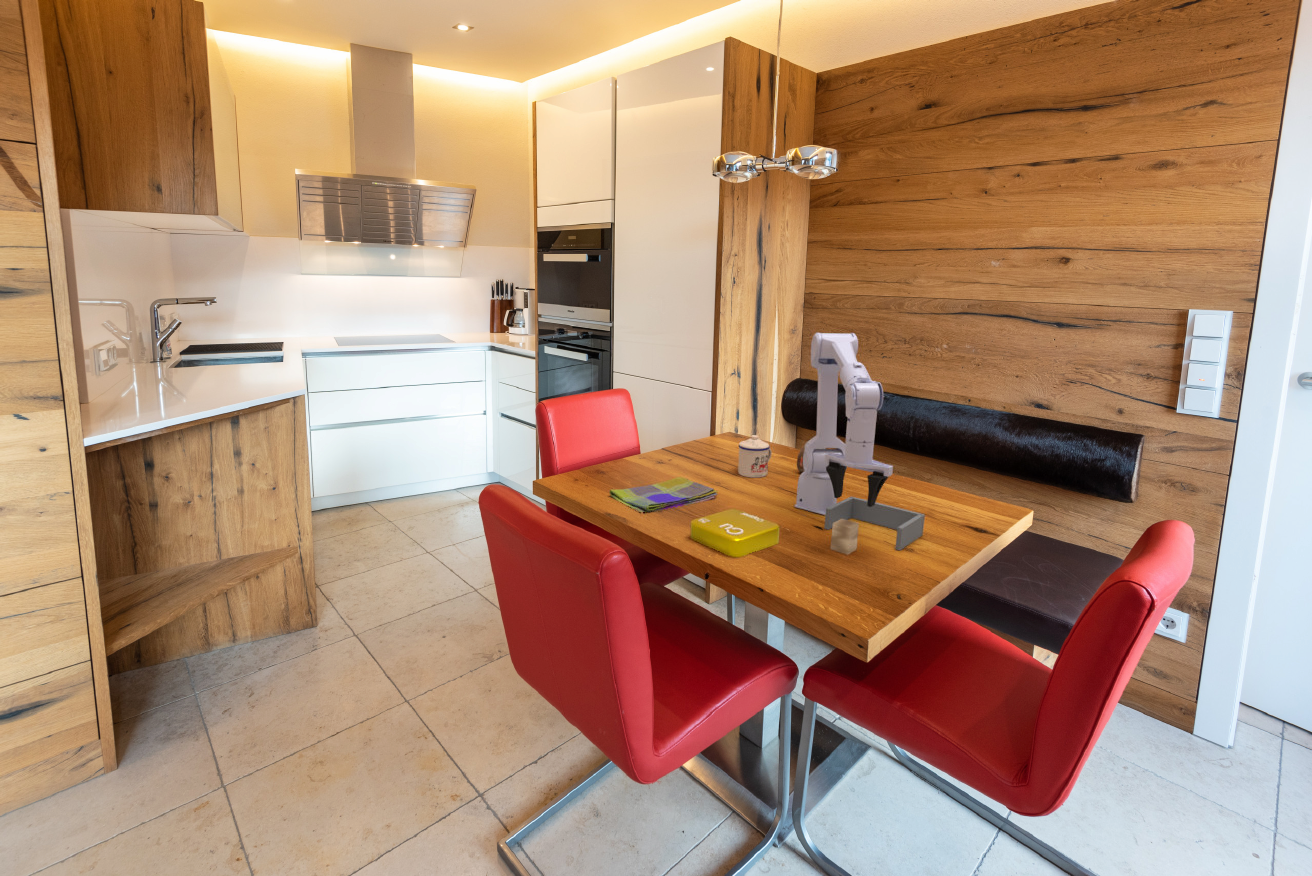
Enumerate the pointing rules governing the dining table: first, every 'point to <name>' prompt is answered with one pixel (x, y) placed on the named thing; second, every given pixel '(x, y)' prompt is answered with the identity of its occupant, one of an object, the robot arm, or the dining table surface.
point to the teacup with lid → (753, 457)
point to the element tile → (735, 532)
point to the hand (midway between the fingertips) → (854, 501)
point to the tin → (800, 459)
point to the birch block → (844, 536)
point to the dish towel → (664, 495)
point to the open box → (879, 518)
